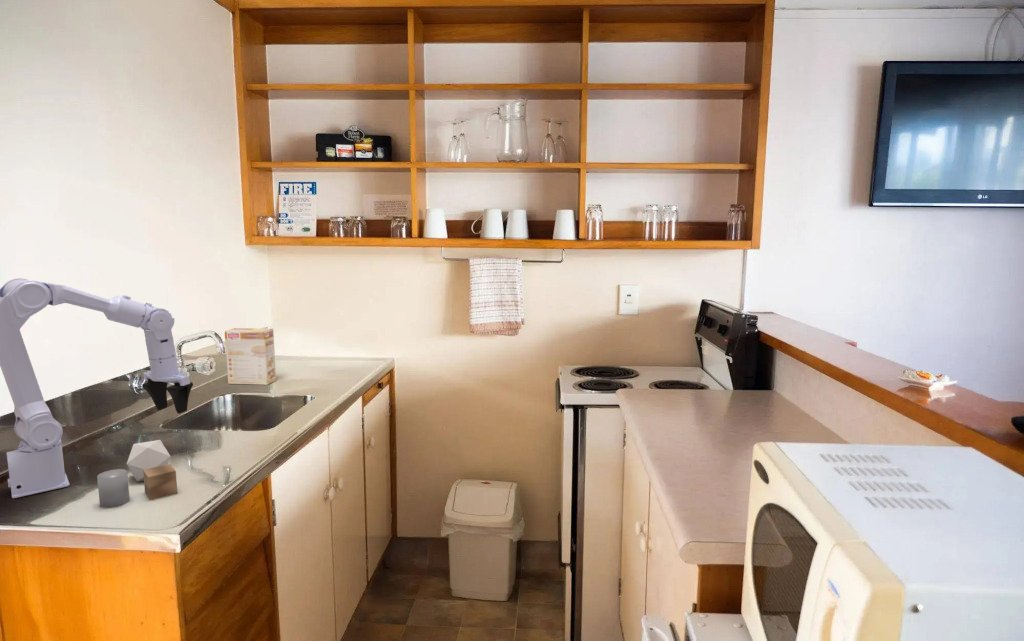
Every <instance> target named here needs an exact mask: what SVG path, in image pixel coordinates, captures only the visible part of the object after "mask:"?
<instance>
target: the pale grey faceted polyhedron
mask: <svg viewBox="0 0 1024 641" xmlns="http://www.w3.org/2000/svg"><path fill="white" fill-rule="evenodd" d="M170 459H171V455H170V453H169V451H168V450H167V448H166V447H165V445H164V444H163V442H162V441H161V439H156V440H151V441H143V442H138V443H133V445H132V447H131V450H130V453H129V456H128V459H127V462H126V466H127V467H128V469H129V471H130V472H131V474H132V476H133V477H134V479H135V481H136V482H137V483H138V482H144V475H143V470H145V469H149V468H154V467H158V466H163V465H168V464H169V462H170Z"/></svg>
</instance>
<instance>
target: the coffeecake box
mask: <svg viewBox="0 0 1024 641" xmlns="http://www.w3.org/2000/svg"><path fill="white" fill-rule="evenodd" d="M274 338H275V336H274V329H273V328H254V327H253V328H249V327H248V328H243V327H240V328H239V327H236V328H234V327H233V328H230V329H227V330H224V339H225V340H224V341H225V354H226V355H225V356H226V358H225V359H226V370H227V371H226V372H227V384H228V385H259V386H268V385H270V384H272V383H274V382H277V374H276V373H277V371H276V368H277V367H276V356H275V355H276V352H275V339H274Z"/></svg>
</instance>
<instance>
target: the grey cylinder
mask: <svg viewBox="0 0 1024 641" xmlns="http://www.w3.org/2000/svg"><path fill="white" fill-rule="evenodd" d="M96 479H97V489H98V498H99V499H98V500H99V501H98V502H99V506H100V508H103V509H114V508H117V507H121V506H123V505H126V504H127V503H129V501H130V498H131V497H130V489H129V478H128V470H126V469H123V468H116V469H110V470H106V471H103V472H101V473H99V474H98V475H96Z"/></svg>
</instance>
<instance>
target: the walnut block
mask: <svg viewBox="0 0 1024 641" xmlns="http://www.w3.org/2000/svg"><path fill="white" fill-rule="evenodd" d="M143 475H144V480H143V485H144V486H143V487H144V493H145V494H146V496H147V498H148V500H149V501H152V500H156V499H161V498H165V497H169V496H173V495H177V494H178V484H177V482H178V481H177V471H176V469H175V468H174V467H173V466H172V465H171V463H168V465H163V466H158V467H154V468H149V469H145V470H143Z"/></svg>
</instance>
